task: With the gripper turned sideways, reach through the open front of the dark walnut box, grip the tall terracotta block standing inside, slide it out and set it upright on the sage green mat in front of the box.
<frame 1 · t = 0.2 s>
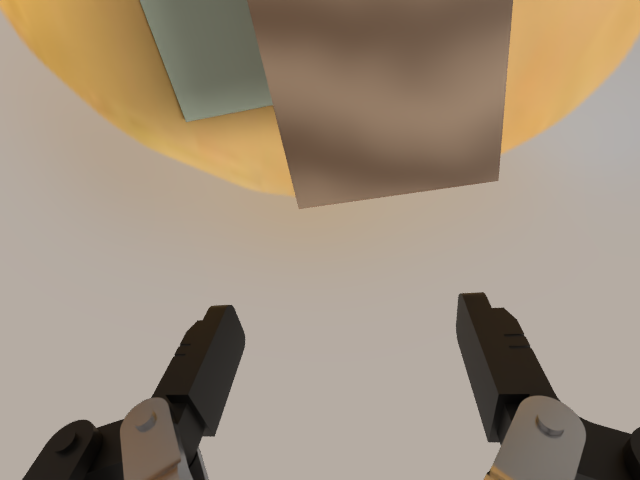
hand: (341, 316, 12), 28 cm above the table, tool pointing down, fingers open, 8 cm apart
sage mat: (222, 53, 34), on the table
walnut box: (332, 28, 32), on the table
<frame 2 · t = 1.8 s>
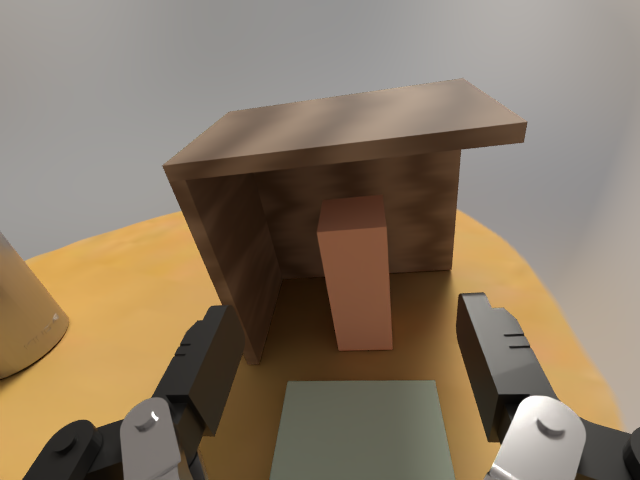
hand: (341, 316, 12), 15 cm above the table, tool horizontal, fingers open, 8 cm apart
terracotta block: (364, 329, 30), on the table
sage mat: (359, 474, 21), on the table
walnut box: (359, 333, 30), on the table
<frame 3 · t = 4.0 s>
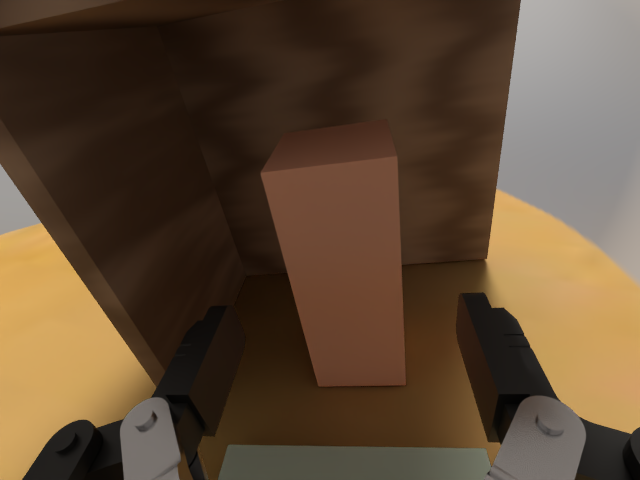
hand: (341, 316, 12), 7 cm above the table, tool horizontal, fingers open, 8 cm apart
terracotta block: (360, 349, 19), on the table
walnut box: (351, 357, 19), on the table
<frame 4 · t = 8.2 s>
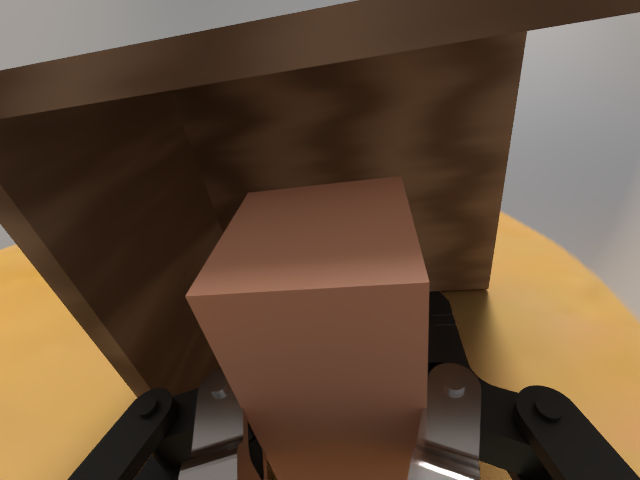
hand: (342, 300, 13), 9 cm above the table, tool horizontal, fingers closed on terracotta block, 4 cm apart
terracotta block: (360, 465, 14), point 2 cm above the table, touching gripper
walnut box: (353, 393, 19), on the table
when the fingers open (8 cm above the table, at t = 10.1 s): terracotta block stays where it is, resting on sage mat.
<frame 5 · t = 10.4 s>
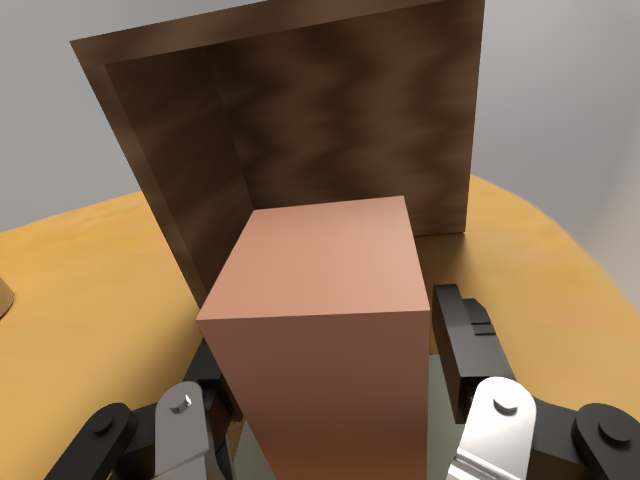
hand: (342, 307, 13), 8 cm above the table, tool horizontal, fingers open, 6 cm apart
terracotta block: (362, 473, 15), point 1 cm above the table, touching sage mat
sage mat: (351, 478, 15), on the table
walnut box: (354, 303, 24), on the table
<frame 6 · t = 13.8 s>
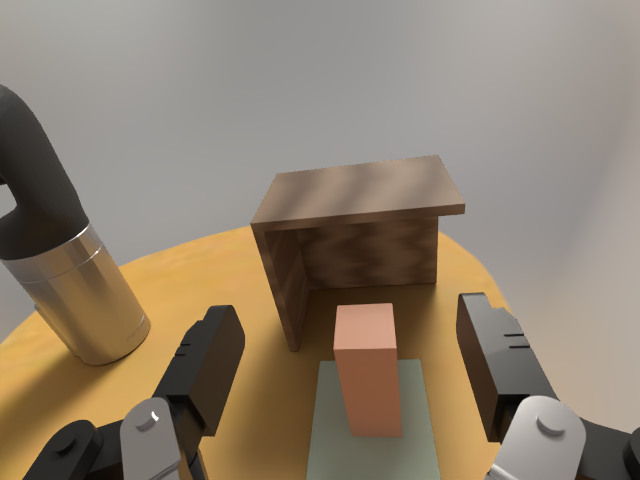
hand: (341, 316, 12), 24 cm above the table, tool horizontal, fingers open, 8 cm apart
terracotta block: (375, 412, 32), point 1 cm above the table, touching sage mat
sage mat: (370, 416, 33), on the table
walnut box: (368, 329, 42), on the table
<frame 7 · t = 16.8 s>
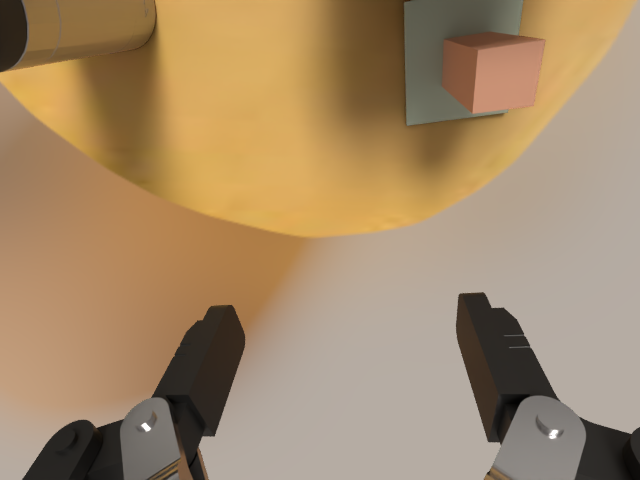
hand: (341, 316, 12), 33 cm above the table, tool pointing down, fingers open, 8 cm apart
terracotta block: (465, 60, 35), point 1 cm above the table, touching sage mat
sage mat: (458, 60, 36), on the table
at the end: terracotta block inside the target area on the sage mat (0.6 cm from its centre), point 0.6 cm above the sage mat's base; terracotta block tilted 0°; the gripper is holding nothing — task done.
